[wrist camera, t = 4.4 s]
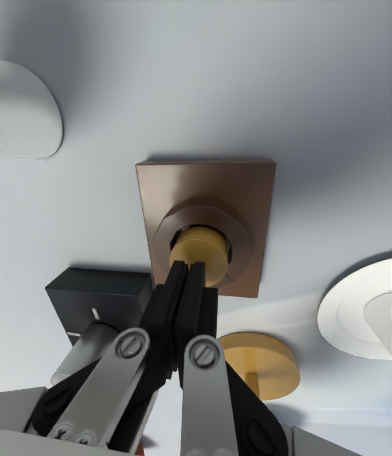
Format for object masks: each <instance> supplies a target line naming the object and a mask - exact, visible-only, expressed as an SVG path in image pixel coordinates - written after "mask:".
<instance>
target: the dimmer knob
mask: <svg viewBox="0 0 392 456" xmlns="http://www.w3.org/2000/svg"><path fill="white" fill-rule="evenodd" d="M118 335H119V333H118V332H117V331H116V330H115V329H113V328H111V327H109V326H107V325H103V324H92V325H90V326H88V327H87V328H86V330H85V331H84V333H83V334H82V335H81V337H80V338H79V340H78V341H77V342H76V344H75V345H74V347H73V348H72V349H71V351H70V352H69V354H68V355H67V356H66V358H65V359H64V361H63V362H62V363H61V365H60V366H59V368H58V369H57V370H56V372H55V373H54V375H53V376H52V378H51V383H52V385H53V386H54V385H56V384H57V383H59V382H60V381H62V380H64V379H65V378H67V377H69V376H70V375H72V374H74V373H75V372H77V371H79V370H80V369H82V368H84V367H85V366H87V365H89V364H90V363H92V362H94V361H95V360H97V359H99V358H100V357H102V356H104V354H105V353H106V351H107V350H108V348H109V347H110V346H111V344H112V343H113V341H114V340H115V339H116V338H117V336H118Z"/></svg>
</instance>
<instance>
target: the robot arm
mask: <svg viewBox="0 0 392 456" xmlns="http://www.w3.org/2000/svg"><path fill="white" fill-rule="evenodd" d="M217 311H218V288H210V287H206V276H205V262H198V261H195V263H194V264H191V265H190V269H189V266H188V264H185V261H179V260H174V262H173V264H172V267H171V269H170V271H169V274H168V276H167V279H166V281H165V284H157V285H156V287H155V289H154V291H153V294H152V296H151V298H150V300H149V302H148V305H147V307H146V309H145V311H144V313H143V316H142V318H141V320H140V322H139V324H138V326H137V328H130V329H128V330H125V331H123V332H122V333H121V334H119V335H118V336H117V338H116V339H115V340H114V341H113V343H112V344H111V346H110V347H109V348H108V350H107V351H106V353H105V354H104V356H102V357H100V358H99V359H97V360H95V361H94V362H92V363H90V364H89V365H87V366H85V367H84V368H82V369H80V370H79V371H77V372H75V373H74V374H72V375H70V376H69V377H67V378H65V379H64V380H62V381H60V382H59V383H57V384H56V385H54V386H53V387H52V388H50V389H47V388H46V387H37V388H30V389H22V390H15V391H7V392H0V456H139V455H134V454H135V451H136V449H137V446H138V444H139V441H140V439H141V436H142V433H143V431H144V428H145V426H146V423H147V421H148V418H149V416H150V413H151V410H152V408H153V405H154V403H155V400H156V398H157V395H158V391H159V388H161V387H162V386H163V385H164V384H165V382H166V379H170V380H171V376H172V371H174V372H176V371H177V368H178V372H179V380H180V387H181V388H182V390H183V403H182V428H181V453H180V456H361V455H359V454H357V453H354V452H352V451H350V450H347V449H345V448H343V447H341V446H338V445H336V444H334V443H332V442H329V441H327V440H325V439H322V438H320V437H318V436H316V435H313V434H311V433H309V432H306V431H304V430H302V429H300V428H297V427H295V426H293V428H291V427H288V426H286V425H284V424H282V423H279V421H278V420H277V418H276V417H275V416H274V415H273V414H272V413H271V411H270V410H269V409H268V408H267V407H266V406H265V405H264V403H263V402H262V401H261V400H260V399H259V398H258V397H257V395H256V394H255V393H254V392H253V391H252V390H251V389H250V387H249V386H248V385H247V384H246V383H245V382H244V381H243V379H242V378H241V377H240V376H239V375H238V374H237V373H236V371H235V370H234V369H233V368H232V367H231V366H230V365H229V363H228V362H227V361H226V360H225V356H224V350H223V347H222V345H221V344H220V342H219V341H218V340H217V339H216V332H217Z"/></svg>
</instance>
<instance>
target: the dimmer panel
mask: <svg viewBox="0 0 392 456" xmlns="http://www.w3.org/2000/svg"><path fill="white" fill-rule="evenodd" d="M45 290H46V292H47V294H48V296H49V298H50V300H51V302H52V304H53V306H54V308H55V310H56V312H57V315H58V317H59V319H60V321H61V323H62V325H63V327H64V329H65V331H66V333H67V335H68V338H69V340H70V342H71V344H72V346H73V347H74V345H75V344H76V342H77V341H78V340H79V338H80V337H81V335H82V334H83V333H84V331H85V330H86V328H87V327H88V326H90V325H92V324H103V325H107V326H109V327H111V328H113V329H115V330H116V331H117V332H118V333H119V334H121V333H122V332H123V331H125V330H128V329H130V328H137V326H138V324H139V322H140V320H141V318H142V316H143V313H144V311H145V309H146V307H147V305H148V302H149V300H150V298H151V296H152V294H153V288H152V282H151V276H150V273H136V272H121V271H107V270H93V269H78V268H67V269H66V270H65V271H64V272H62V273H61V274H60V275H59V276H58V277H57V278H55V279H54V280H53V281H52V282H51V283H50V284H48V285H47V286H46V287H45Z"/></svg>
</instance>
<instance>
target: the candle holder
mask: <svg viewBox="0 0 392 456" xmlns="http://www.w3.org/2000/svg"><path fill="white" fill-rule="evenodd" d="M317 322H318V327H319V330H320V332H321V334H322V336H323V337H324V338H325V339H326V340H327V341H328V342H329V343H330V344H331V345H332V346H334V347H335V348H337V349H339V350H341V351H343V352H345V353H347V354H350V355H353V356H357V357H361V358H367V359H376V360H392V258H391V259H387V260H383V261H380V262H377V263H374V264H371V265H369V266H366V267H364V268H362V269H359V270H357V271H356V272H354V273H352V274H350V275H349V276H347V277H345V278H344V279H343V280H341V281H340V282H339V283H337V284H336V285H335V286H334V287H333V288H332V289H331V290H330V291H329V292H328V293H327V295H326V296H325V298H324V299H323V301H322V303H321V305H320V307H319V310H318V315H317Z"/></svg>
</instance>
